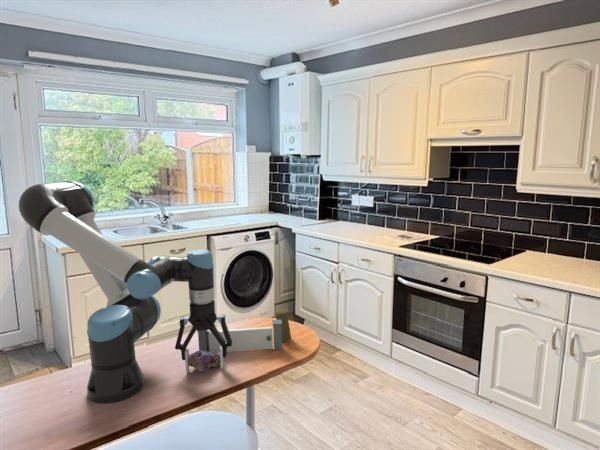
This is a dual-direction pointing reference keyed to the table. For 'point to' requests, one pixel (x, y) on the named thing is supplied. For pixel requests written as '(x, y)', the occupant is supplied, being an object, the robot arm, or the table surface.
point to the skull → (204, 360)
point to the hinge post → (202, 340)
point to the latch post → (277, 334)
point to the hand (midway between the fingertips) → (205, 367)
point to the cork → (284, 324)
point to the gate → (242, 340)
